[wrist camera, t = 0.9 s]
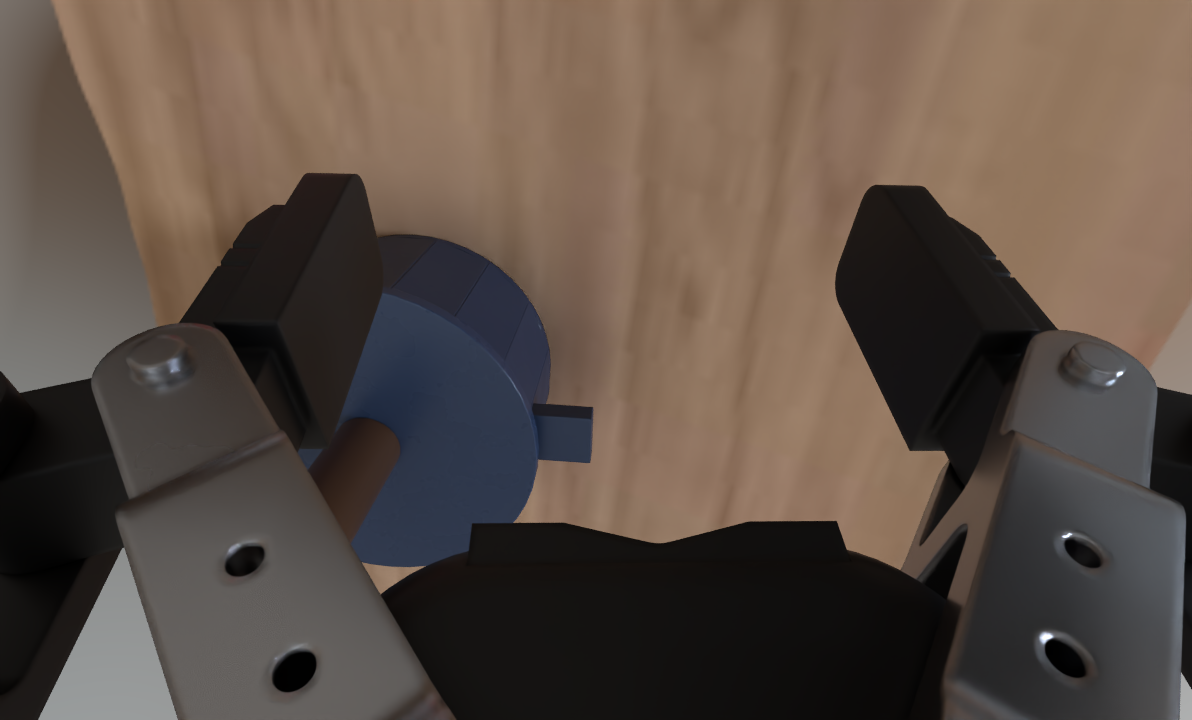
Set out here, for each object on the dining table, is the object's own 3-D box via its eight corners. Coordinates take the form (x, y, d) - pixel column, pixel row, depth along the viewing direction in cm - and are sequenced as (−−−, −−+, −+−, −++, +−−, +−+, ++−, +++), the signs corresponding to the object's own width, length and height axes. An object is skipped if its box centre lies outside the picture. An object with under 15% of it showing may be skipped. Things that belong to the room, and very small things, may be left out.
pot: (225, 224, 32) (115, 278, 25) (605, 244, 31) (594, 306, 24) (281, 446, 38) (204, 535, 32) (596, 468, 37) (585, 565, 31)
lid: (175, 264, 25) (-29, 371, 18) (539, 285, 25) (491, 405, 17) (256, 538, 32) (135, 699, 25) (542, 560, 32) (508, 733, 24)
